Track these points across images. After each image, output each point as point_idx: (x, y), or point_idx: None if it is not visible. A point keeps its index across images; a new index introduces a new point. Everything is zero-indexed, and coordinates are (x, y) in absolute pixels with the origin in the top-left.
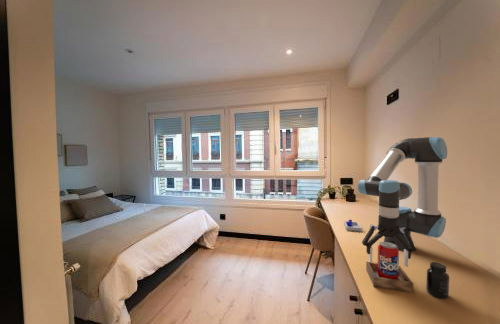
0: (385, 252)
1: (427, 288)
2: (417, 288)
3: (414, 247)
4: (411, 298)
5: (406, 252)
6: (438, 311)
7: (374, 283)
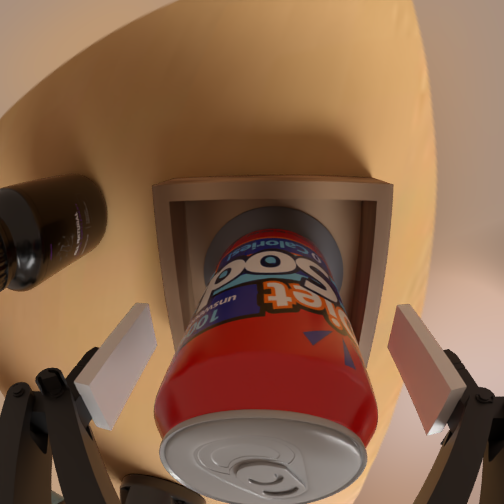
0: (333, 353)
1: (97, 212)
2: (140, 233)
3: (8, 405)
4: (196, 122)
5: (89, 381)
6: (118, 68)
7: (375, 180)
